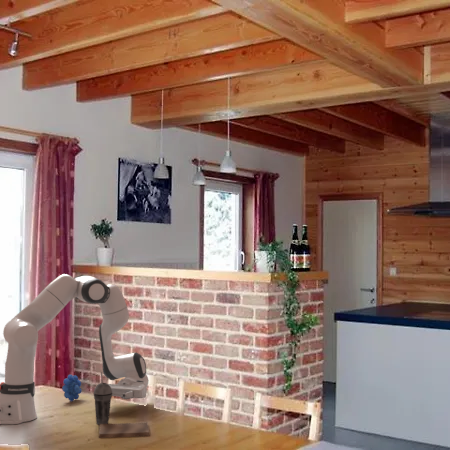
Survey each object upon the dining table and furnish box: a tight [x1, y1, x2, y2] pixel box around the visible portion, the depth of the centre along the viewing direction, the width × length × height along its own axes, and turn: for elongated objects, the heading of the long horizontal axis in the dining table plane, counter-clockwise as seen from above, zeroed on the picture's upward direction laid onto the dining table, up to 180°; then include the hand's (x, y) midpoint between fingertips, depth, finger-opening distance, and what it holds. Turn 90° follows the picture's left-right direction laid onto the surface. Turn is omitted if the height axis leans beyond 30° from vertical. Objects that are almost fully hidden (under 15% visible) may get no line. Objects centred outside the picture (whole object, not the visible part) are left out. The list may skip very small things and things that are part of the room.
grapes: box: [61, 374, 83, 402], centre depth 299 cm, size 12×7×12 cm, turn 150°
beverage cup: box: [93, 371, 113, 426], centre depth 262 cm, size 7×7×20 cm
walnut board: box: [98, 422, 150, 438], centre depth 250 cm, size 18×14×1 cm
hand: (113, 394), depth 272 cm, fingers open, 8 cm apart
